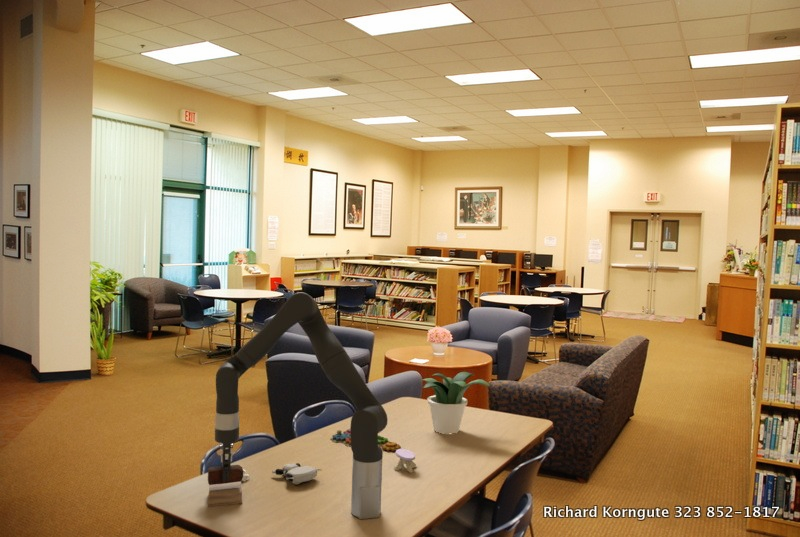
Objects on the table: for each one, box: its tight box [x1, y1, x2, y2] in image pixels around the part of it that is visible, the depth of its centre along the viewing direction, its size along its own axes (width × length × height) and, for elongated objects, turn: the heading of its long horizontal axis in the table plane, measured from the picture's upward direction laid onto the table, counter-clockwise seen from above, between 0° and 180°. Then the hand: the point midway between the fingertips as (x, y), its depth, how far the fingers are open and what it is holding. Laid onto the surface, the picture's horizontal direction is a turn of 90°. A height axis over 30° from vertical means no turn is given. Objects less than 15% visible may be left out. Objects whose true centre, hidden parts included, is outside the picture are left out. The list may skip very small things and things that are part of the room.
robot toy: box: [271, 462, 323, 485], centre depth 213 cm, size 12×4×15 cm
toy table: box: [393, 448, 417, 473], centre depth 226 cm, size 10×9×6 cm
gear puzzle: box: [329, 428, 402, 452], centre depth 253 cm, size 31×16×4 cm, turn 55°
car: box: [241, 468, 250, 482], centre depth 209 cm, size 12×6×5 cm, turn 132°
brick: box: [207, 464, 244, 486], centre depth 194 cm, size 11×4×5 cm, turn 112°
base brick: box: [207, 480, 243, 507], centre depth 194 cm, size 9×10×4 cm
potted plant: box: [421, 371, 491, 435], centre depth 273 cm, size 32×35×26 cm
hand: (226, 477), depth 194 cm, fingers closed on brick, 4 cm apart
